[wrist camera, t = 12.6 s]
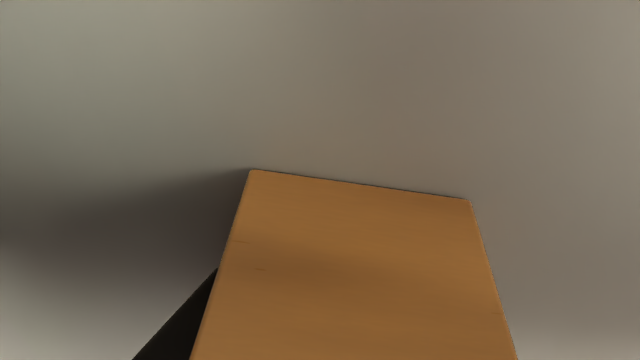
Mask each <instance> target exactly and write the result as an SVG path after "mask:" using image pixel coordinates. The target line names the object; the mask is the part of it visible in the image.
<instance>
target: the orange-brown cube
mask: <svg viewBox="0 0 640 360" xmlns="http://www.w3.org/2000/svg"><path fill="white" fill-rule="evenodd" d="M189 360H518V358H517V355H516V351H515V348H514V345H513V341H512V338H511V335H510V331H509V328H508V325H507V321H506V318H505V315H504V311H503V308H502V304H501V301H500V298H499V294H498V291H497V288H496V284H495V281H494V278H493V274H492V271H491V268H490V264H489V261H488V258H487V254H486V251H485V247H484V244H483V241H482V237H481V234H480V231H479V227H478V224H477V221H476V217H475V214H474V211H473V207H472V204H471V202H470V201H468V200H465V199H458V198H451V197H444V196H437V195H431V194H424V193H417V192H410V191H403V190H396V189H389V188H382V187H375V186H368V185H361V184H354V183H347V182H340V181H333V180H326V179H319V178H312V177H305V176H298V175H291V174H284V173H277V172H270V171H263V170H256V169H253V170H251V171H250V172H249V175H248V178H247V181H246V184H245V187H244V190H243V193H242V196H241V200H240V203H239V206H238V209H237V212H236V215H235V218H234V221H233V224H232V228H231V231H230V234H229V237H228V240H227V243H226V246H225V249H224V253H223V256H222V259H221V262H220V265H219V268H218V271H217V274H216V277H215V281H214V284H213V287H212V290H211V293H210V296H209V299H208V302H207V306H206V309H205V312H204V315H203V318H202V321H201V324H200V327H199V330H198V334H197V337H196V340H195V343H194V346H193V349H192V352H191V355H190V358H189Z"/></svg>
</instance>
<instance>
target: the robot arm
mask: <svg viewBox="0 0 640 360" xmlns="http://www.w3.org/2000/svg"><path fill="white" fill-rule="evenodd" d="M217 271H218V268H217V269H215V270H214V271H213V272H212V274H211V275H210V276H209V277H208V278H207V279H206V280H205V281H204V282H203V283H202V284H201V285H200V286H199V288H198V289H197V290H196V291H195V292H194V293H193V294H192V295H191V296H190V297H189V298H188V299H187V301H186V302H185V303H184V304H183V305H182V306H181V307H180V308H179V309H178V310H177V311H176V312H175V314H174V315H173V316H172V317H171V318H170V319H169V320H168V321H167V322H166V323H165V324H164V325H163V326H162V328H161V329H160V330H159V331H158V332H157V333H156V334H155V335H154V336H153V337H152V338H151V339H150V341H149V342H148V343H147V344H146V345H145V346H144V347H143V348H142V349H141V350H140V351H139V352H138V354H137V355H136V356H135V357H134V358H133V359H132V360H189V358H190V355H191V352H192V349H193V346H194V343H195V340H196V337H197V334H198V330H199V327H200V324H201V321H202V318H203V315H204V312H205V309H206V306H207V302H208V299H209V296H210V293H211V290H212V287H213V284H214V281H215V277H216V274H217Z"/></svg>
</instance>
